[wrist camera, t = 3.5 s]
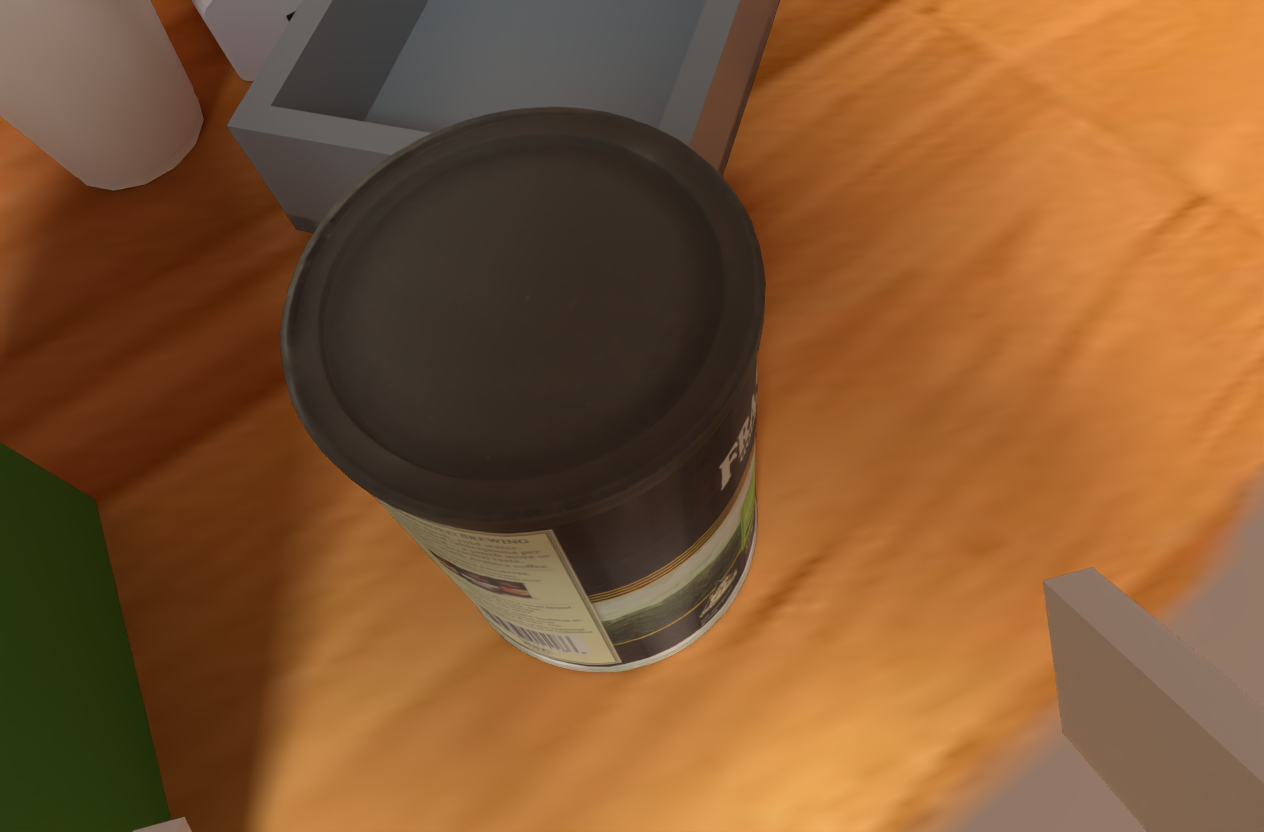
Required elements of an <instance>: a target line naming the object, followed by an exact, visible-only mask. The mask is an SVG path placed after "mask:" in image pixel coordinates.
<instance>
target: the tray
mask: <svg viewBox="0 0 1264 832" xmlns="http://www.w3.org/2000/svg"><path fill="white" fill-rule="evenodd" d="M779 2H780V0H302V2H301V4H300V5H299V7H298V8H297V10H296V12H295V13H294V15H293V17H292V18H291V20H290V22H289V23H288V25H287V27H286V28H285V30H284V32H283V33H282V35H281V37H280V38H279V40H278V42H277V43H276V45H275V46H274V48H273V50H272V51H271V53H270V55H269V56H268V58H267V60H266V61H265V63H264V65H263V66H262V68H261V70H260V71H259V73H258V75H257V76H256V78H255V80H254V81H253V83H252V84H251V86H250V88H249V89H248V91H247V93H246V94H245V96H244V98H243V99H242V101H241V103H240V104H239V106H238V108H237V109H236V111H235V113H234V114H233V116H232V118H231V119H230V121H229V122H228V124H227V128H228V129H229V130H230V132H231V133H232V135H233V136H234V138H235V139H236V141H237V142H238V144H239V145H240V147H241V148H242V150H243V151H244V153H245V154H246V156H247V157H248V159H249V160H250V162H251V163H252V164H253V166H254V167H255V169H256V170H257V172H258V173H259V175H260V176H261V178H262V179H263V181H264V182H265V184H266V185H267V187H268V188H269V190H270V191H271V193H272V194H273V196H274V197H275V199H276V200H277V201H278V203H279V204H280V206H281V207H282V209H283V210H284V212H285V213H286V215H287V216H288V218H289V219H290V221H291V222H292V224H293V225H294V227H295V228H296V229H298V230H303V231H308V232H313V233H314V232H315V231H316V229H317V228H318V226H319V225H320V223H321V222H322V220H323V219H324V218H325V216H326V215H327V214H328V213H329V211H330V210H331V209H332V208H333V206H334V205H335V204H336V203H337V202H338V201H339V199H340V198H341V197H342V196H343V195H344V194H345V193H346V192H347V191H348V190H349V189H350V188H351V187H352V186H353V185H354V184H355V183H356V182H358V181H359V180H360V179H361V178H362V177H363V176H364V175H366V174H367V173H368V172H369V171H371V170H372V169H373V168H375V167H376V166H377V165H378V164H380V163H381V162H382V161H384V160H385V159H386V158H388V157H389V156H391V155H392V154H394V153H396V152H397V151H399V150H401V149H402V148H404V147H406V146H407V145H409V144H411V143H413V142H415V141H416V140H418V139H420V138H422V137H424V136H426V135H429V134H431V133H433V132H435V131H437V130H440V129H442V128H445V127H448V126H450V125H453V124H456V123H459V122H461V121H464V120H468V119H472V118H475V117H479V116H482V115H486V114H490V113H496V112H502V111H506V110H512V109H520V108H534V107H555V106H556V107H574V108H585V109H592V110H598V111H605V112H609V113H613V114H617V115H620V116H624V117H627V118H631V119H633V120H635V121H638V122H641V123H645V124H647V125H650V126H652V127H654V128H656V129H659V130H661V131H663V132H665V133H667V134H669V135H671V136H673V137H675V138H677V139H678V140H680V141H681V142H683V143H684V144H685V145H687V146H688V147H690V148H691V149H692V150H693V151H695V152H696V153H697V154H698V155H700V156H701V157H702V158H703V159H705V160H706V161H707V162H708V163H710V164H711V165H712V166H713V167H714V168H715V169H716V170H717V171H718V172H719V173H720V175H721V176H723V173H724V170H725V167H726V164H727V161H728V158H729V155H730V152H731V149H732V146H733V142H734V139H735V136H736V133H737V130H738V127H739V124H740V121H741V118H742V115H743V112H744V109H745V106H746V103H747V100H748V97H749V93H750V90H751V87H752V84H753V81H754V78H755V75H756V72H757V69H758V66H759V63H760V60H761V57H762V54H763V51H764V48H765V44H766V41H767V38H768V35H769V32H770V29H771V26H772V23H773V20H774V17H775V14H776V11H777V8H778V5H779Z"/></svg>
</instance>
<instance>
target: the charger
mask: <svg viewBox="0 0 1264 832" xmlns="http://www.w3.org/2000/svg"><path fill="white" fill-rule="evenodd" d="M191 1H192V3H193V4H194V6H195V7H196V9H197V11H198V12H199V14H200V15H201V17H202V19H203V20H204V22H205V23H206V25H207V27H208V28H209V30H210V31H211V33H212V35H213V36H214V38H215V39H216V41H217V42H218V44H219V46H220V47H221V49H222V50H223V52H224V54H225V55H226V57H227V58H228V60H229V62H230V63H231V65H232V66H233V68H234V69H235V71H236V73H237V74H238V76H239V77H240V78H242V79H243V80H246V81H254V80H255V78H256V76H257V75H258V73H259V71H260V70H261V68H262V66H263V65H264V63H265V61H266V60H267V58H268V56H269V55H270V53H271V51H272V50H273V48H274V46H275V45H276V43H277V42H278V40H279V38H280V37H281V35H282V33H283V32H284V30H285V28H286V27H287V25H288V23H289V22H290V20H291V18H292V17H293V15H294V13H295V12H296V10H297V8H298V7H299V5H300V4H301V2H302V0H191Z"/></svg>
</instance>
